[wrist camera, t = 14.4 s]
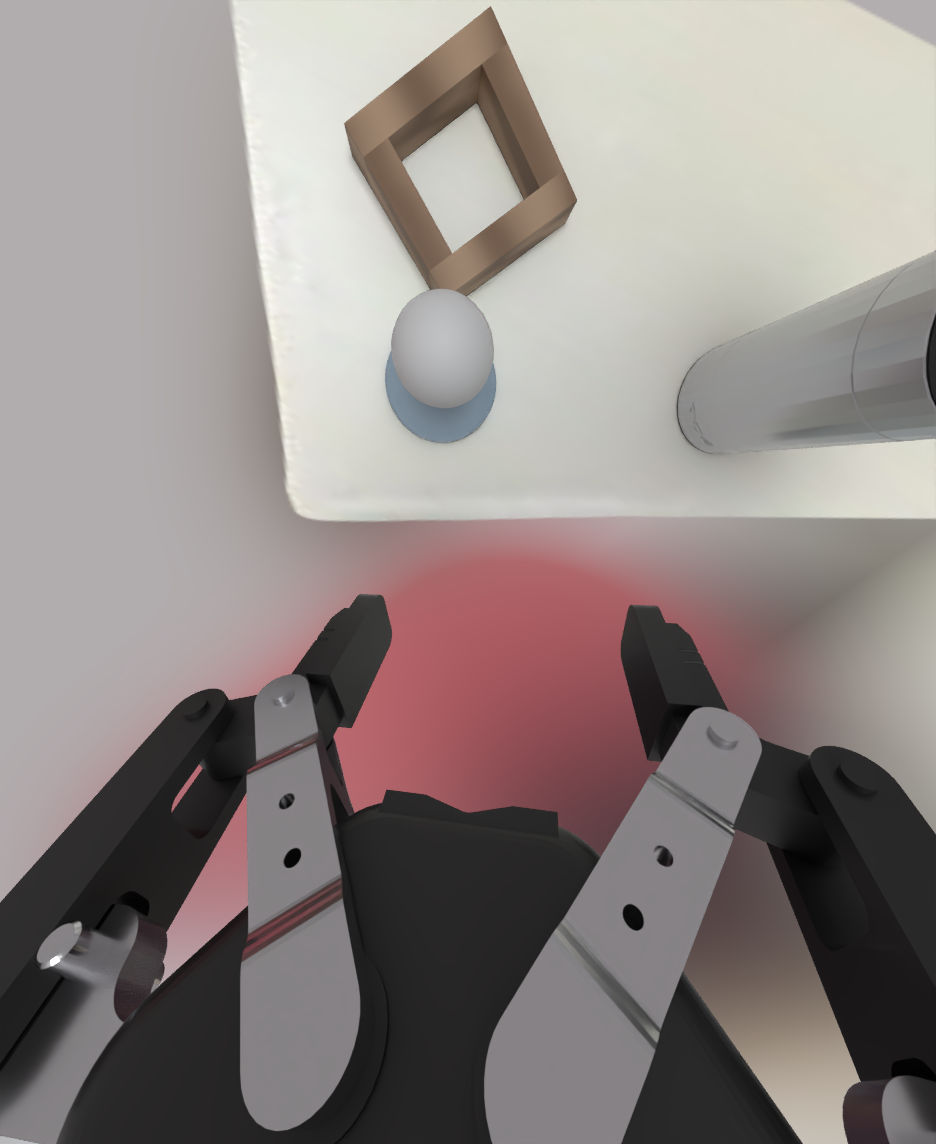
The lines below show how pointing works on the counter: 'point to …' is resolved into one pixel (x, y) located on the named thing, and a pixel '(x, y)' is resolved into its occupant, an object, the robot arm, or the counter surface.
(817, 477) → the counter surface
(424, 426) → the pad
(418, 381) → the lightbulb
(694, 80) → the counter surface
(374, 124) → the frame
